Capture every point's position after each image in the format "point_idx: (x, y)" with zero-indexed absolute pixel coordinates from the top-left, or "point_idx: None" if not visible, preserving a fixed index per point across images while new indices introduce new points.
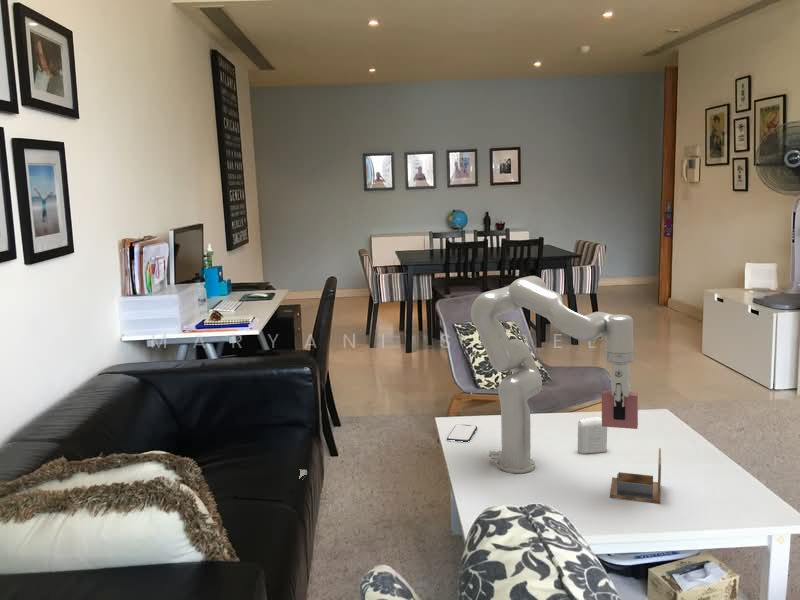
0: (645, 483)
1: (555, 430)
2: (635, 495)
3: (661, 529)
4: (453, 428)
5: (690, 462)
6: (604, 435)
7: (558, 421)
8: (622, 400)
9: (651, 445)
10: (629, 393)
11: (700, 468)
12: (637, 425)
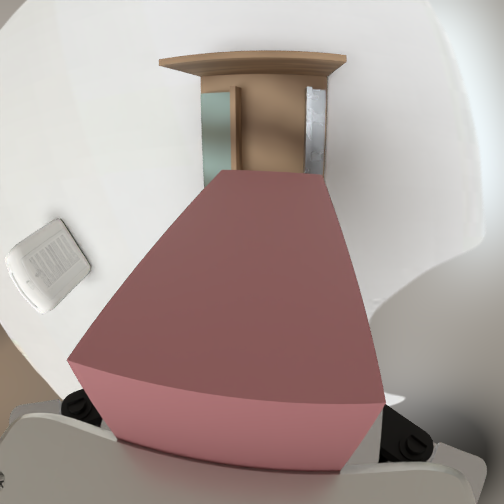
0: (239, 107)
1: (30, 308)
2: (318, 134)
3: (457, 94)
4: None
5: (54, 38)
6: (38, 240)
7: (3, 301)
8: (376, 449)
9: (5, 134)
10: (313, 493)
11: (79, 11)
12: (291, 176)
